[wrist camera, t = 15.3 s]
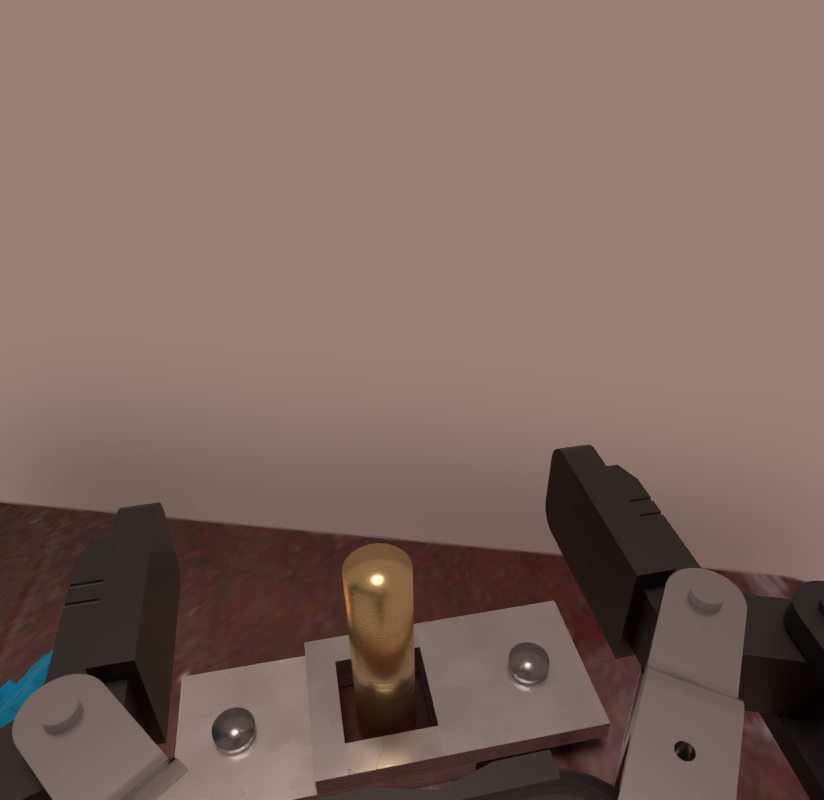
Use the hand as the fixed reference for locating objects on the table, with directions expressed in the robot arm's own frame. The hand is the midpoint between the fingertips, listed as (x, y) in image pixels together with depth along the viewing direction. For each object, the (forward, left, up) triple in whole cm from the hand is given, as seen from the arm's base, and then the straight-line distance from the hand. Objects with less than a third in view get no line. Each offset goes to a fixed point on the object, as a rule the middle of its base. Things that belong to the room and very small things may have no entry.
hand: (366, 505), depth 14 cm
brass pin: (+1, +11, -26) cm, 29 cm away
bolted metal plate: (+1, +11, -26) cm, 29 cm away
